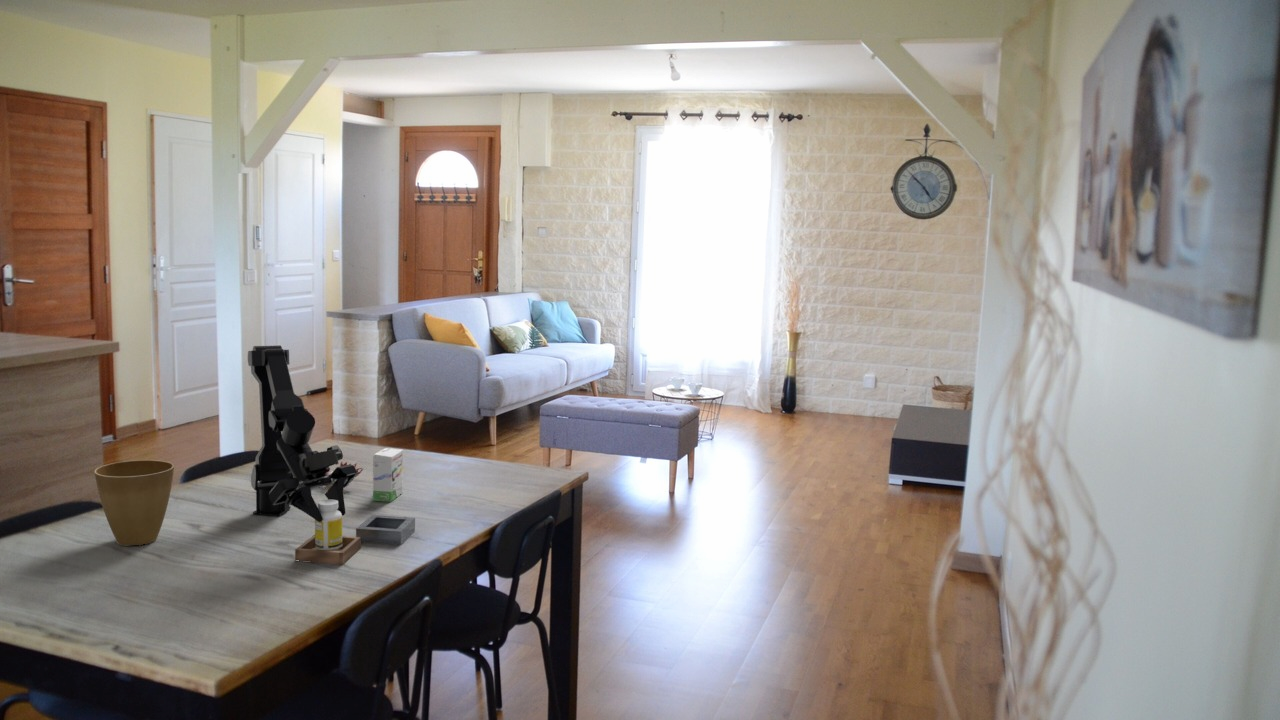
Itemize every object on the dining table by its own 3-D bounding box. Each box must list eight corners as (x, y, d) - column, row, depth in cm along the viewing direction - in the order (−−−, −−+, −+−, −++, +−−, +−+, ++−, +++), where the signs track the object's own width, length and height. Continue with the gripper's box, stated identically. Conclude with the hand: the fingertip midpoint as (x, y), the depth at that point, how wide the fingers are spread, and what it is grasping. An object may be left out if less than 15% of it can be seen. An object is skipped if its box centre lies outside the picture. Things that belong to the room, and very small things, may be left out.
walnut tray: (295, 561, 198) (295, 549, 197) (315, 545, 208) (315, 534, 207) (343, 564, 197) (343, 552, 197) (360, 548, 207) (360, 537, 207)
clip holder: (356, 541, 211) (356, 528, 211) (371, 527, 221) (372, 515, 221) (400, 544, 210) (401, 531, 210) (414, 530, 220) (415, 517, 220)
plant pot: (191, 534, 211) (189, 463, 209) (139, 556, 197) (136, 480, 194) (134, 526, 215) (133, 455, 212) (79, 546, 200) (76, 471, 198)
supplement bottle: (345, 542, 205) (345, 498, 204) (338, 552, 200) (337, 506, 198) (319, 542, 205) (319, 497, 203) (311, 551, 200) (311, 505, 198)
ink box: (391, 502, 241) (391, 456, 239) (372, 500, 242) (372, 454, 240) (403, 493, 249) (403, 448, 248) (384, 491, 250) (385, 447, 248)
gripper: (277, 441, 193) (312, 506, 189) (352, 427, 209) (386, 487, 204) (253, 472, 199) (287, 536, 194) (328, 456, 214) (361, 515, 210)
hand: (332, 517), depth 201 cm, fingers closed on supplement bottle, 5 cm apart
